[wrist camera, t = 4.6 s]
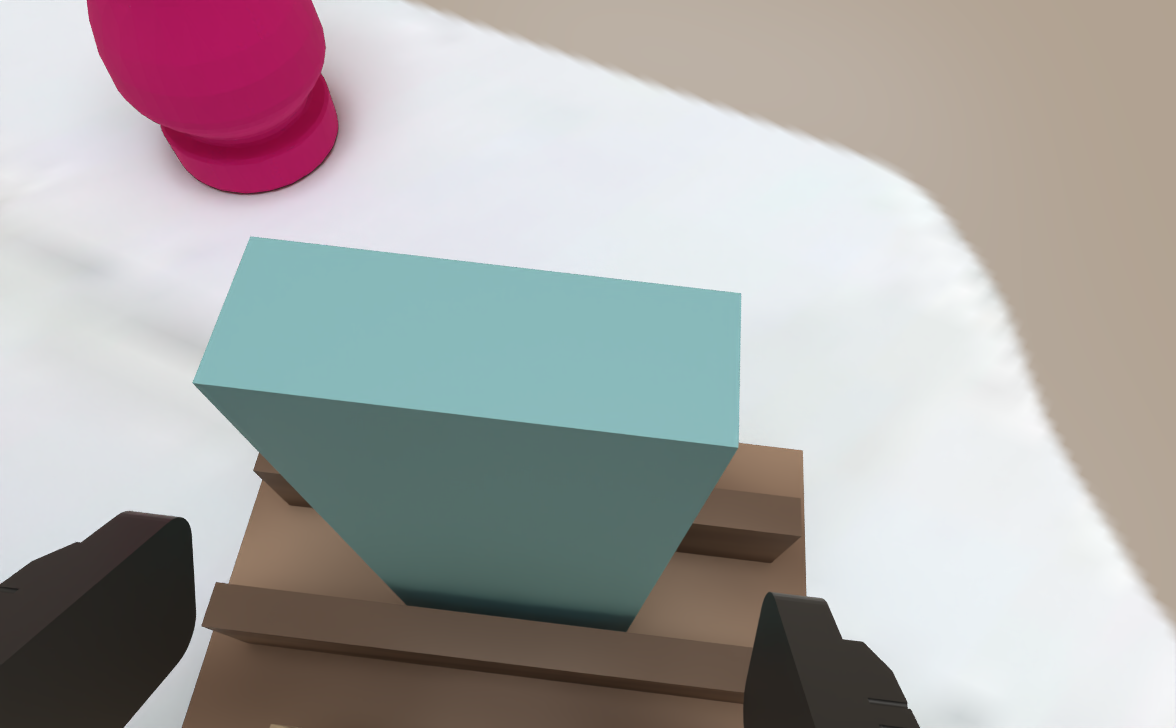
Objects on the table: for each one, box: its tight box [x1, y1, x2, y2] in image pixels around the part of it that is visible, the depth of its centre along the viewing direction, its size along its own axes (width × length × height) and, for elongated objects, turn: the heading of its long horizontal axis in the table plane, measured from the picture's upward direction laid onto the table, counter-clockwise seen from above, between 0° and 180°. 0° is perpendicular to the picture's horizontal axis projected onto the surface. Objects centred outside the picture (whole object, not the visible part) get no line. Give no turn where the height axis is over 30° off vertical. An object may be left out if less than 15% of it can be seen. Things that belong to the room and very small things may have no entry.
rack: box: [182, 443, 806, 728], centre depth 19 cm, size 17×16×4 cm
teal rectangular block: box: [193, 236, 741, 632], centre depth 15 cm, size 2×6×14 cm, turn 84°
